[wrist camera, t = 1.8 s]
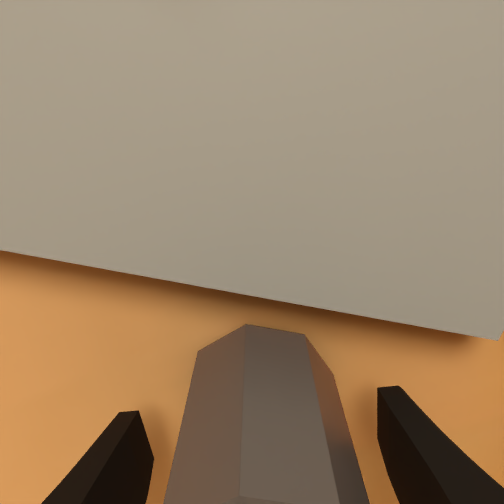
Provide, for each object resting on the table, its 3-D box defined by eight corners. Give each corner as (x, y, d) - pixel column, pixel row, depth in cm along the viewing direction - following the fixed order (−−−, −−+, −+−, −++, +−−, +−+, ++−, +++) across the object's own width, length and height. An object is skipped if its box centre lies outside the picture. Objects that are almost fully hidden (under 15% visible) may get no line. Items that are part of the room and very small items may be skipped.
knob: (344, 341, 12) (424, 556, 6) (308, 443, 14) (345, 683, 8) (204, 316, 12) (156, 520, 6) (185, 423, 13) (134, 659, 8)
